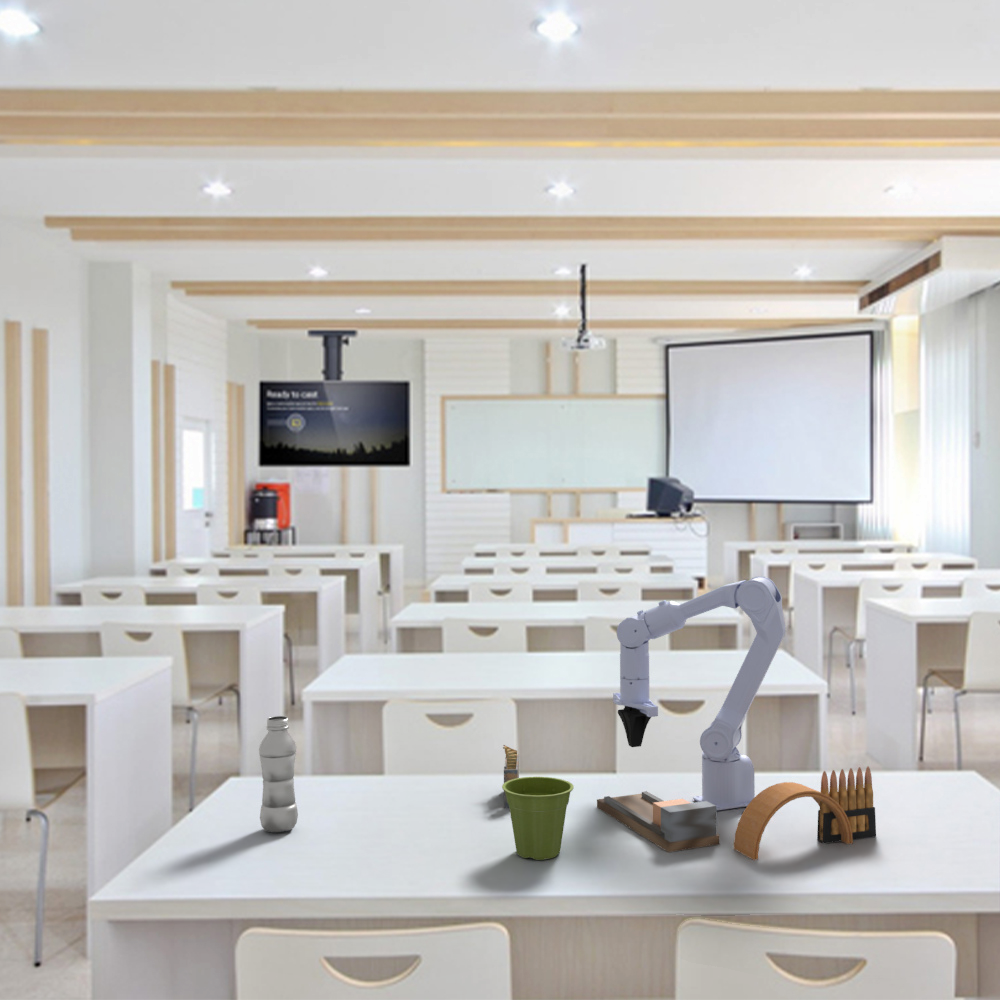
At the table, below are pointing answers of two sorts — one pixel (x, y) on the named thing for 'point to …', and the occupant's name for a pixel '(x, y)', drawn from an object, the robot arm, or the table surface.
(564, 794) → the plant pot
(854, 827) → the ammunition clip
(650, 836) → the keeper track
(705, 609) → the robot arm
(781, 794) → the arch
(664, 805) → the block
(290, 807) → the plastic bottle
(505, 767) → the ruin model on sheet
